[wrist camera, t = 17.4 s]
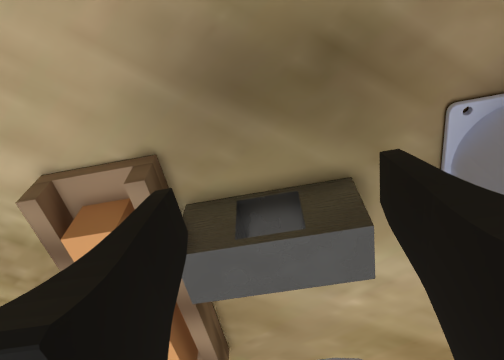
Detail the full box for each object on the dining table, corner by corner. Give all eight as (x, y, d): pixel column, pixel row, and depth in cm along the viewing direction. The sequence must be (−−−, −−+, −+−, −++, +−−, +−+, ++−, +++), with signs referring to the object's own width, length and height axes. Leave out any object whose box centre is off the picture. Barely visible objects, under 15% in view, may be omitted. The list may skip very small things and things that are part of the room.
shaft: (82, 206, 23) (60, 239, 20) (130, 198, 23) (114, 231, 20) (162, 354, 31) (154, 392, 29) (198, 349, 31) (193, 387, 28)
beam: (351, 177, 23) (373, 225, 19) (354, 225, 25) (375, 278, 21) (185, 204, 24) (172, 256, 20) (201, 249, 26) (192, 304, 22)
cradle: (41, 175, 23) (15, 202, 20) (156, 154, 22) (144, 180, 20) (148, 359, 33) (139, 392, 31) (229, 348, 33) (227, 382, 30)
